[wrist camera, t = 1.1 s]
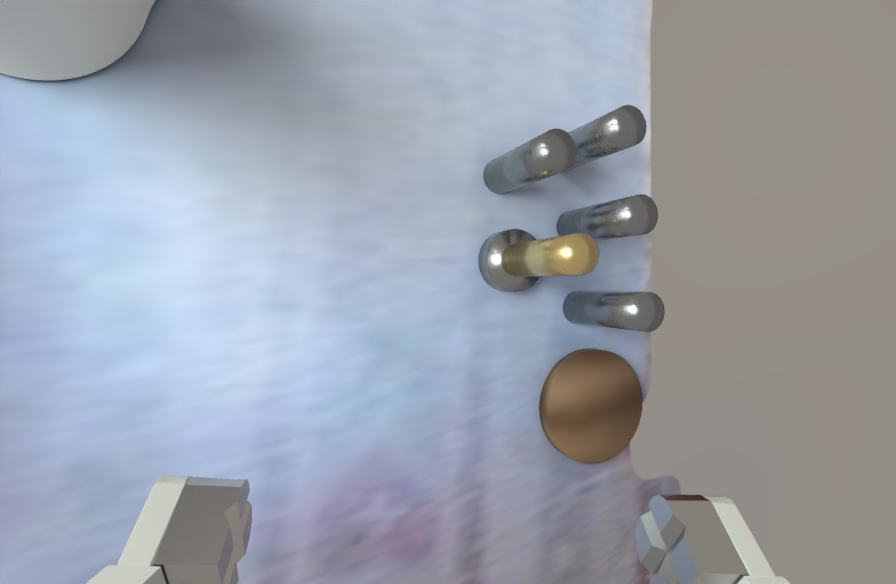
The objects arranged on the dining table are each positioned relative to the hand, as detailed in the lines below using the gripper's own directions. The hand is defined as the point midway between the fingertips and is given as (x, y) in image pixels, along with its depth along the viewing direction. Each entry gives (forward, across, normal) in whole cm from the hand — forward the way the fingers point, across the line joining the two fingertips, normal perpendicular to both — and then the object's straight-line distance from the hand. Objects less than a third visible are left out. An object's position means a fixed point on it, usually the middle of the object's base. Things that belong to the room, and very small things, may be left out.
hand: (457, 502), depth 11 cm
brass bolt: (+35, -10, +15) cm, 40 cm away
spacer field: (+39, -14, +12) cm, 43 cm away
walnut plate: (+29, -20, +27) cm, 45 cm away
